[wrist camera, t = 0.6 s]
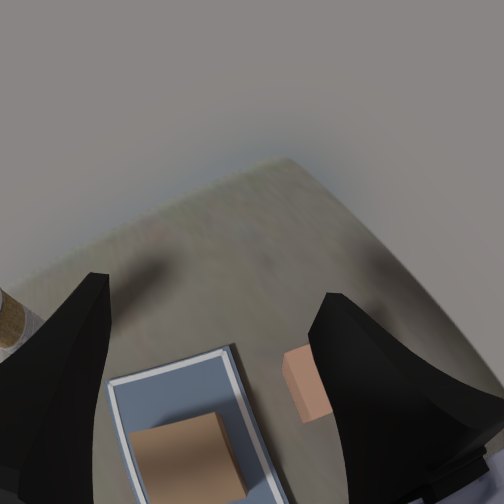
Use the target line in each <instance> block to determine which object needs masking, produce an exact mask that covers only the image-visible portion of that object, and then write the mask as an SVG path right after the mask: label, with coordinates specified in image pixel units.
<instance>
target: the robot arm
mask: <svg viewBox="0 0 504 504" xmlns="http://www.w3.org/2000/svg"><path fill="white" fill-rule="evenodd" d="M111 324H112V321H111V307H110V288H109V274H100V273H92V272H90V273H89V274H88V275H87V276H86V277H85V278H84V279H83V281H82V282H81V283H80V284H79V285H78V287H77V288H76V289H75V290H74V291H73V292H72V293H71V295H70V296H69V297H68V298H67V299H66V300H65V301H64V303H63V304H62V305H61V306H60V307H59V308H58V309H57V310H56V311H55V313H54V314H53V315H52V316H51V317H50V318H49V319H48V320H47V321H46V322H45V323H44V324H43V325H42V326H41V327H40V328H39V329H38V330H37V331H36V332H35V333H34V334H33V335H32V336H31V337H30V338H29V339H28V340H27V341H26V342H25V343H24V344H23V345H22V346H21V347H19V348H18V349H17V350H16V351H15V352H14V353H13V354H11V355H10V356H9V357H8V358H7V359H5V360H4V361H3V362H2V363H0V504H94V501H93V481H92V446H93V426H94V416H95V409H96V403H97V398H98V393H99V389H100V384H101V379H102V375H103V370H104V366H105V361H106V357H107V353H108V347H109V339H110V331H111ZM308 338H309V343H310V348H311V352H312V356H313V360H314V362H315V365H316V368H317V371H318V373H319V376H320V379H321V381H322V384H323V386H324V389H325V392H326V394H327V397H328V400H329V402H330V405H331V407H332V410H333V413H334V416H335V420H336V423H337V428H338V432H339V436H340V440H341V445H342V450H343V456H344V461H345V468H346V475H347V483H348V495H349V504H504V448H503V449H501V450H500V451H498V452H497V453H495V454H494V455H492V456H491V457H489V458H488V459H487V460H484V458H483V455H484V454H486V452H487V450H486V448H485V446H484V445H485V444H486V443H487V442H488V441H490V440H491V439H492V438H493V437H494V436H495V435H496V434H498V433H499V432H500V431H501V430H502V429H503V428H504V399H502V398H500V397H497V396H494V395H491V394H488V393H485V392H482V391H480V390H478V389H475V388H473V387H471V386H469V385H466V384H464V383H462V382H460V381H458V380H456V379H454V378H453V377H451V376H449V375H447V374H445V373H444V372H442V371H440V370H439V369H437V368H435V367H434V366H432V365H431V364H429V363H428V362H426V361H425V360H423V359H422V358H420V357H419V356H417V355H416V354H415V353H413V352H412V351H411V350H409V349H408V348H407V347H405V346H404V345H403V344H402V343H400V342H399V341H398V340H397V339H395V338H394V337H393V336H392V335H391V334H389V333H388V332H387V331H386V330H385V329H384V328H382V327H381V326H380V325H379V324H378V323H377V322H375V321H374V320H373V319H372V318H371V317H370V316H369V315H367V314H366V313H365V312H364V311H363V310H362V309H361V308H359V307H358V306H357V305H356V304H355V303H353V302H352V301H351V300H350V299H348V298H347V297H346V296H344V295H343V294H342V293H326V295H325V298H324V300H323V302H322V304H321V307H320V309H319V311H318V313H317V315H316V318H315V320H314V322H313V324H312V326H311V328H310V331H309V333H308Z"/></svg>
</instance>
